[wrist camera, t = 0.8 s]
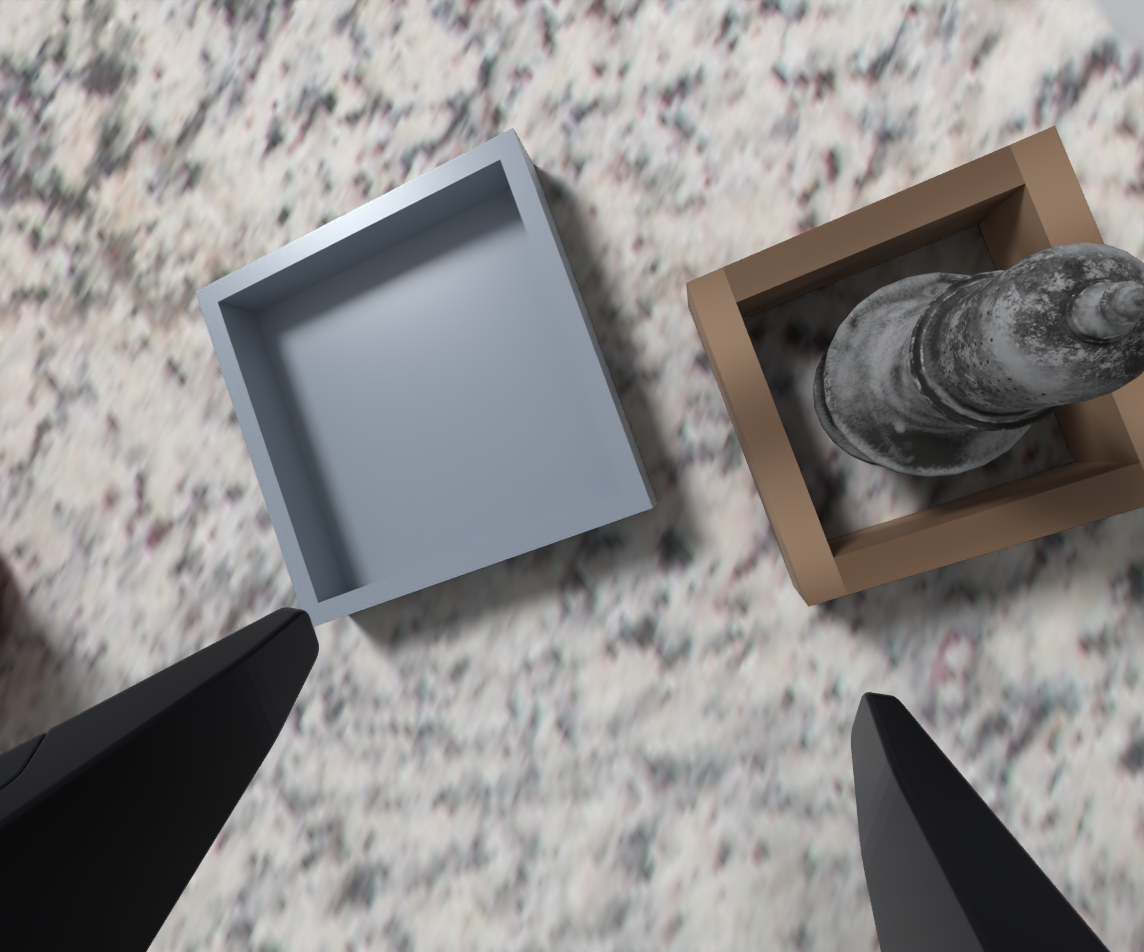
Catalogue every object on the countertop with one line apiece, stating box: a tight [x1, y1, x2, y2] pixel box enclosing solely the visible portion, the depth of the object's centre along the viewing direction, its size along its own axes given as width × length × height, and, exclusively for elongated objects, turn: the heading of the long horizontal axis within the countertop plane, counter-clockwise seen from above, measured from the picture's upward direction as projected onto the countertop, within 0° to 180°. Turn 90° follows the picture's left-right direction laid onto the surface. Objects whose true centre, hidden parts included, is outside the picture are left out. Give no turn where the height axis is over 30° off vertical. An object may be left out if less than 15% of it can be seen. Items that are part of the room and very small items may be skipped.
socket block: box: [686, 126, 1144, 606], centre depth 19 cm, size 11×11×3 cm
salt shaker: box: [813, 242, 1144, 477], centre depth 15 cm, size 6×6×12 cm
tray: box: [195, 128, 658, 627], centre depth 23 cm, size 14×14×2 cm
